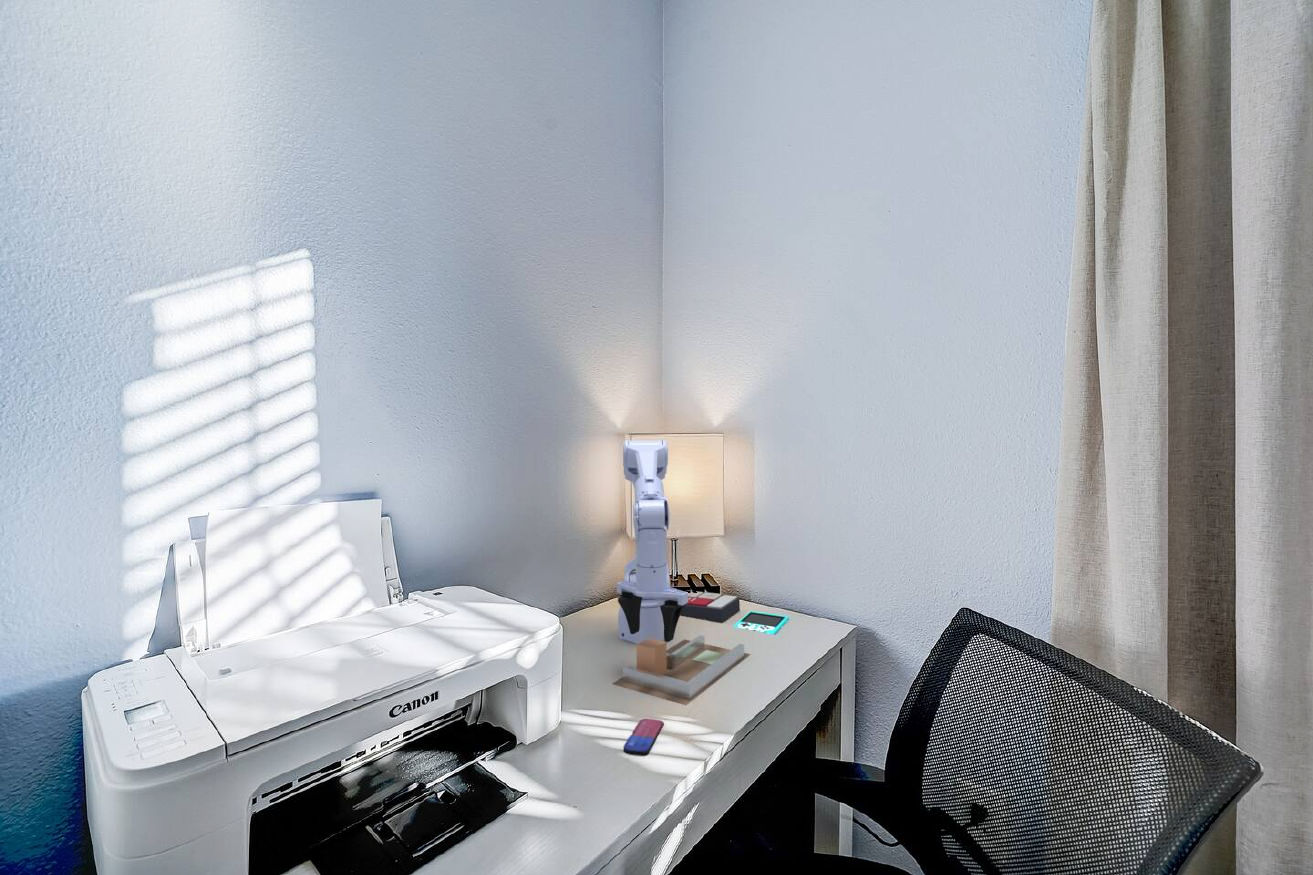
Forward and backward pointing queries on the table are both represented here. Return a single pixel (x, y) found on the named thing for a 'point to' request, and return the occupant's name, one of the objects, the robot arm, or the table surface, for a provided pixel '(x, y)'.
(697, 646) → the inner rail
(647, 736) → the eraser
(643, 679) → the outer rail
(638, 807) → the table surface
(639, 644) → the block
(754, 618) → the handheld game console
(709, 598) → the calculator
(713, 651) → the track board
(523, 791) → the table surface
